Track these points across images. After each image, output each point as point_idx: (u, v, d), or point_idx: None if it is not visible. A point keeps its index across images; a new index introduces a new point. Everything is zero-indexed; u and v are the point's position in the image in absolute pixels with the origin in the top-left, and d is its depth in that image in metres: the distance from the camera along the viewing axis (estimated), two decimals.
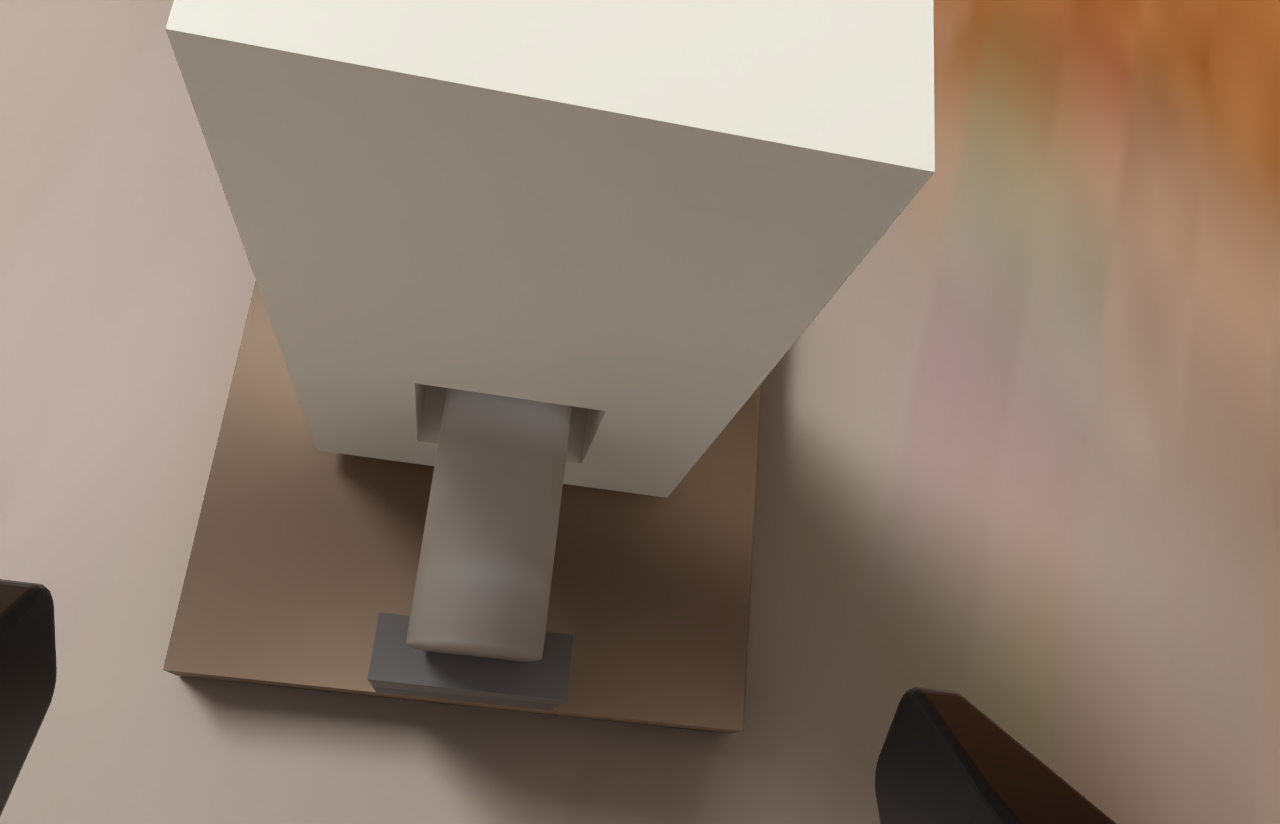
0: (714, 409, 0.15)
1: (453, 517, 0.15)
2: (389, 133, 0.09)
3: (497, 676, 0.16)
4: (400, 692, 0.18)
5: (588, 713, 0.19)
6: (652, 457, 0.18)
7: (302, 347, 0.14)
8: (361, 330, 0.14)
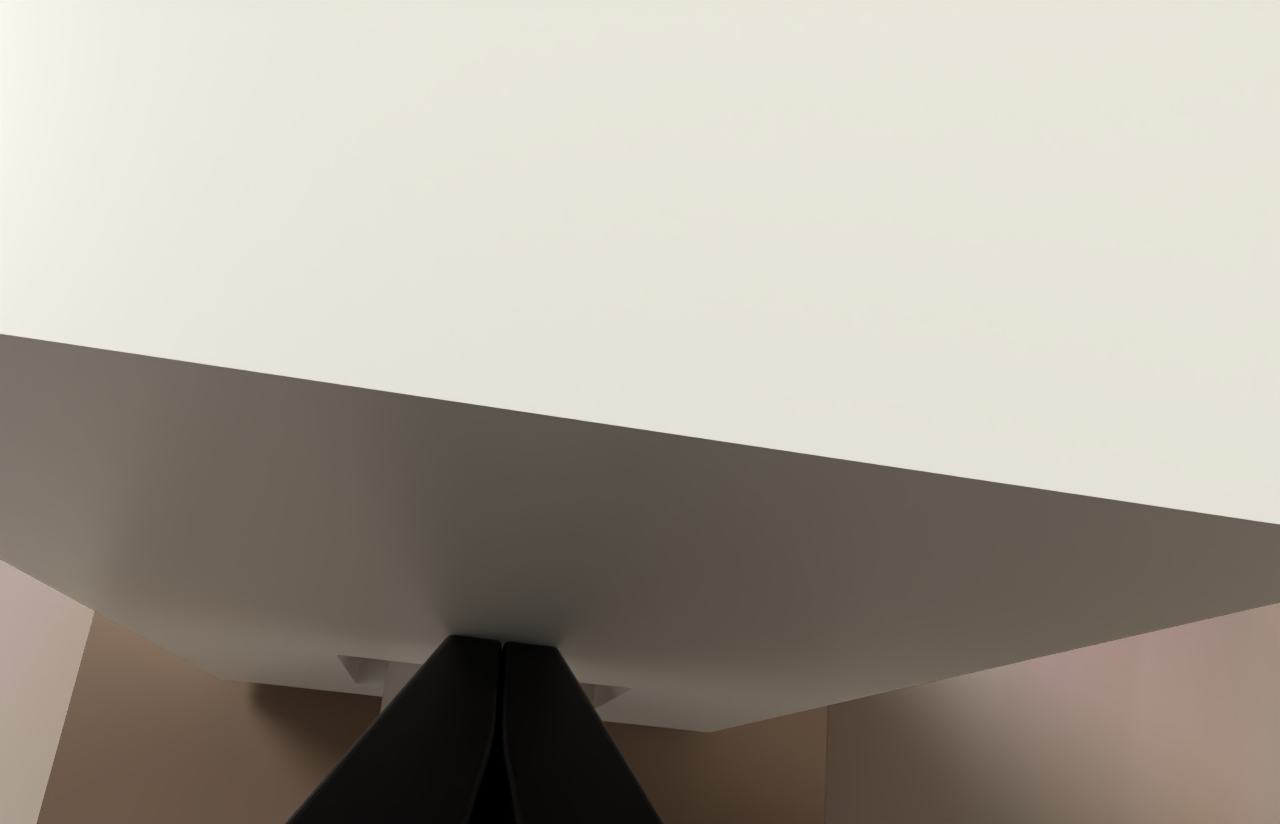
0: (803, 699, 0.10)
1: None
2: (163, 441, 0.04)
3: None
4: None
5: None
6: (695, 714, 0.12)
7: (147, 622, 0.09)
8: (231, 618, 0.08)
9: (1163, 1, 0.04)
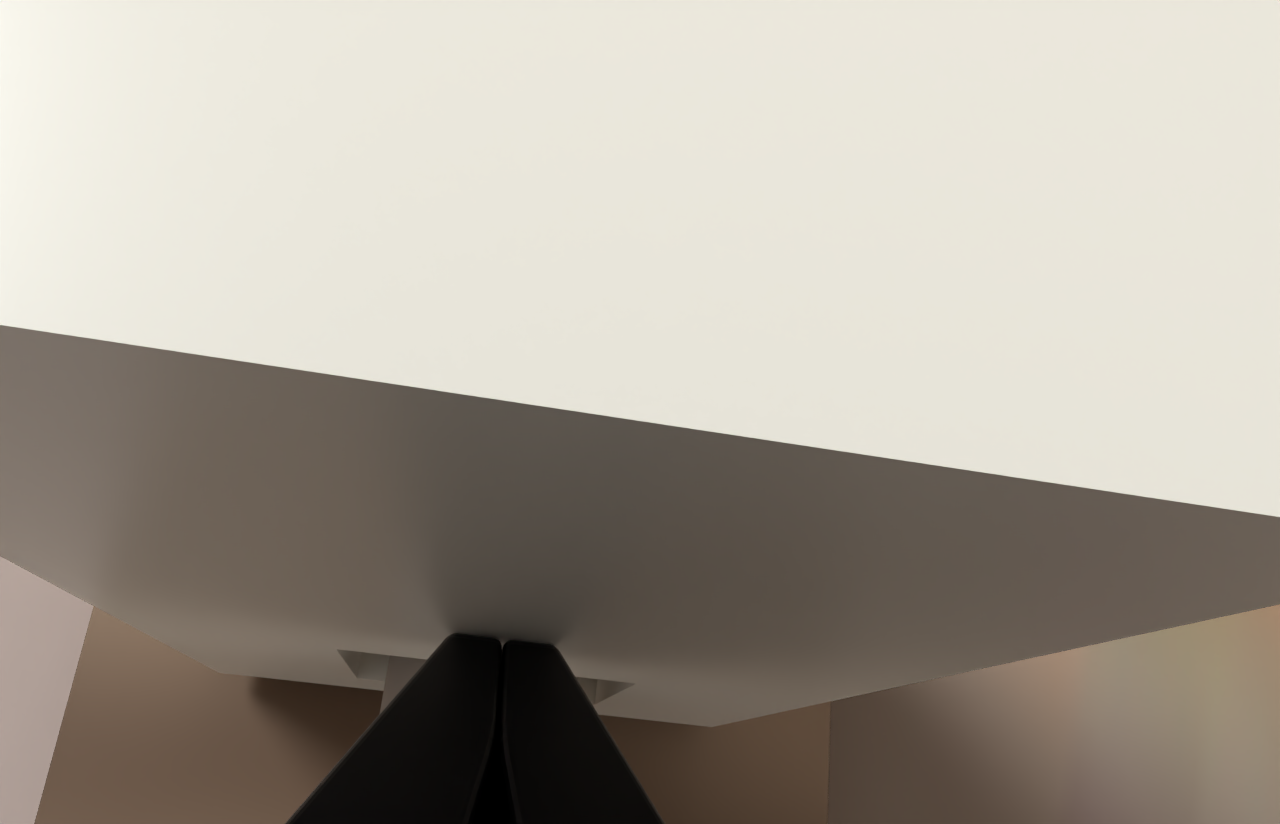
0: (808, 694, 0.10)
1: None
2: (158, 434, 0.04)
3: None
4: None
5: None
6: (698, 709, 0.12)
7: (145, 616, 0.09)
8: (231, 612, 0.08)
9: None
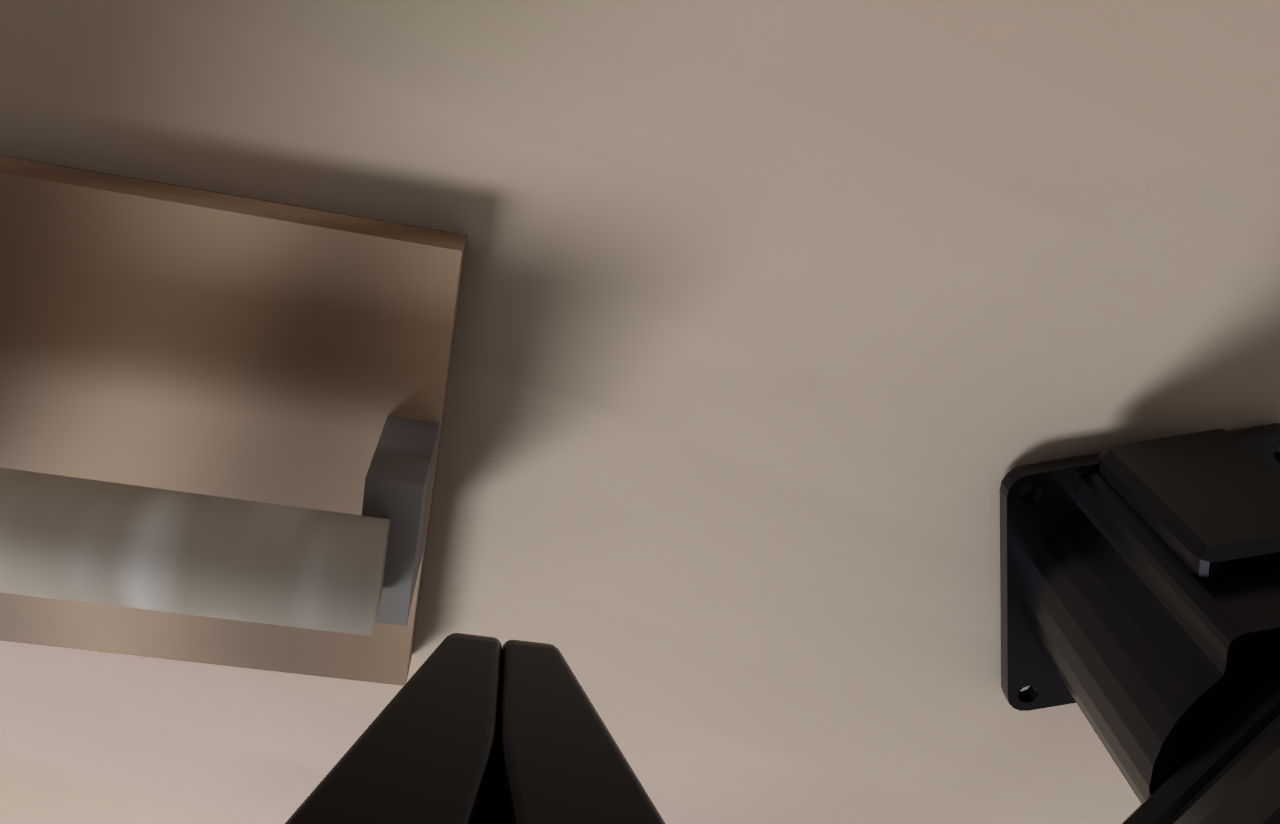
0: None
1: (261, 619, 0.17)
2: None
3: (403, 536, 0.19)
4: (422, 548, 0.21)
5: (442, 392, 0.20)
6: None
7: None
8: None
9: None
